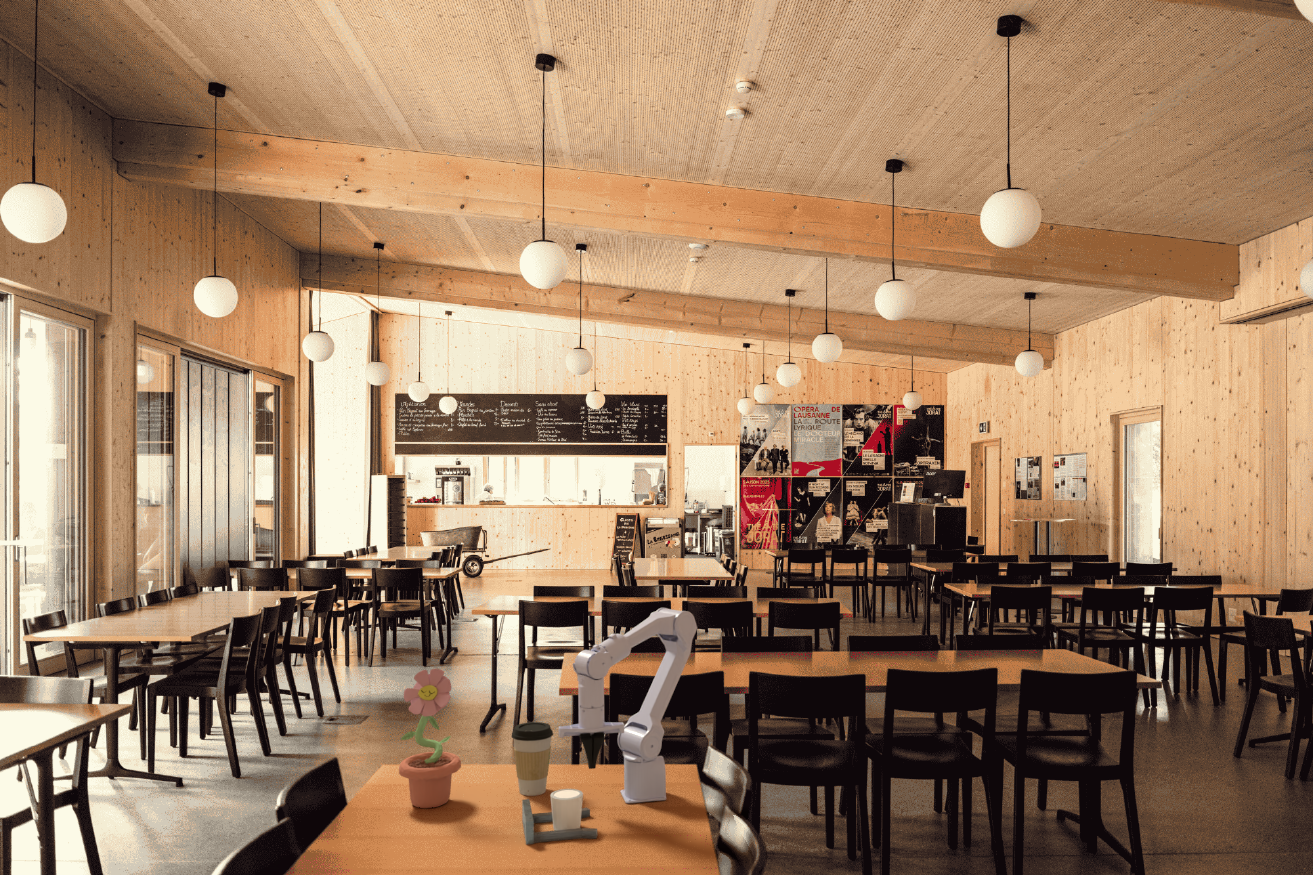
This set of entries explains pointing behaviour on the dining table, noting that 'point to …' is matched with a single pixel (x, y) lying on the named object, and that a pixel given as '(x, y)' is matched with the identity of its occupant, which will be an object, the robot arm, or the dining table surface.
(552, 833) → the grey hook bracket
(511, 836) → the dining table surface
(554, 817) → the shot glass
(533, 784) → the coffee cup
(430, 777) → the decorative flower
